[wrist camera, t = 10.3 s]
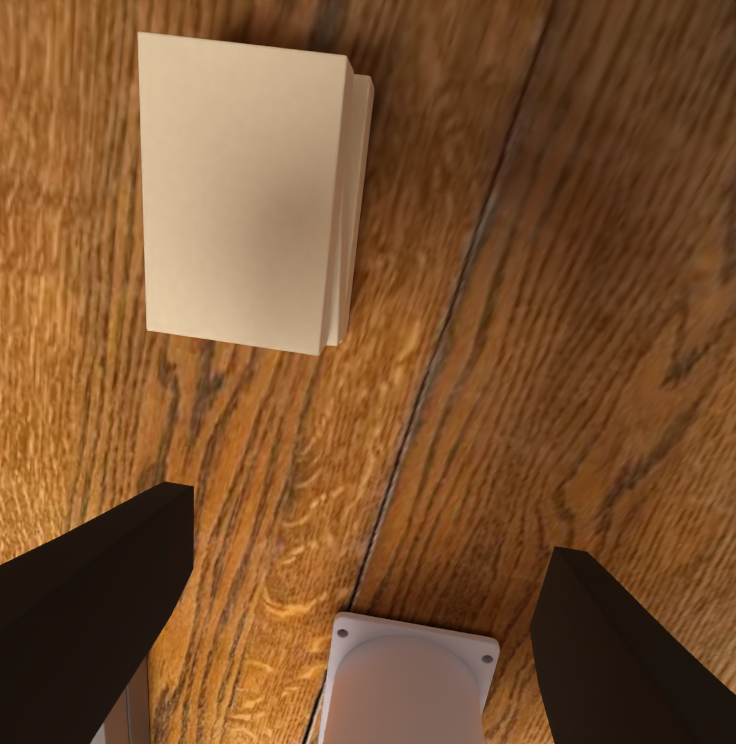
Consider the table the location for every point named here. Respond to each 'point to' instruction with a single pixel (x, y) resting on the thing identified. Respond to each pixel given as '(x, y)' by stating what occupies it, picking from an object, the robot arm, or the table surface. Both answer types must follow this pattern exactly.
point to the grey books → (128, 714)
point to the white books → (350, 206)
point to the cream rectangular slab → (241, 188)
